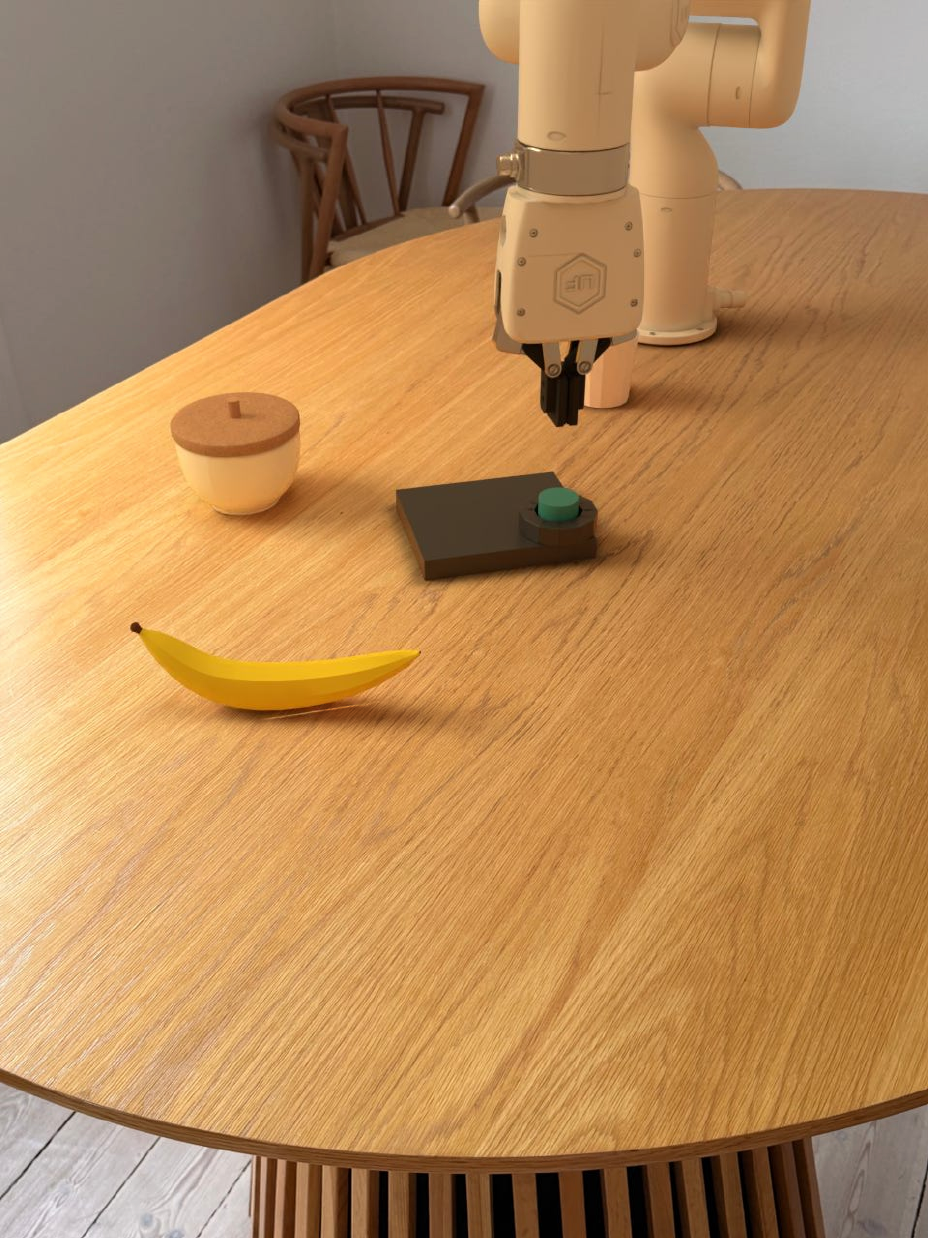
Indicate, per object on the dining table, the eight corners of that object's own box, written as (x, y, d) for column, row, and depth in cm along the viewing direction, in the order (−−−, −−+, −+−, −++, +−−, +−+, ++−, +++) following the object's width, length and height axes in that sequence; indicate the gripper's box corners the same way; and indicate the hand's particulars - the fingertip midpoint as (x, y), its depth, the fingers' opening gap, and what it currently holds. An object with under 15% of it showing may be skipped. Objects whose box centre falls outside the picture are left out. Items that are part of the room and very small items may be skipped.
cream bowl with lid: (326, 480, 109) (318, 382, 103) (273, 538, 100) (261, 434, 95) (220, 463, 112) (207, 367, 106) (159, 518, 103) (142, 416, 98)
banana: (420, 725, 80) (418, 646, 77) (138, 714, 81) (123, 636, 78) (425, 698, 83) (422, 620, 79) (151, 687, 84) (136, 611, 80)
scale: (558, 489, 107) (560, 453, 105) (604, 561, 97) (607, 523, 95) (396, 508, 104) (394, 472, 102) (426, 585, 94) (425, 546, 92)
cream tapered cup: (633, 384, 126) (638, 319, 122) (635, 412, 120) (640, 344, 116) (567, 382, 127) (570, 317, 123) (565, 409, 121) (568, 342, 117)
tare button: (571, 502, 99) (572, 485, 98) (583, 520, 96) (584, 503, 95) (533, 506, 98) (534, 489, 97) (544, 525, 96) (545, 508, 95)
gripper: (478, 188, 78) (477, 450, 88) (697, 174, 80) (672, 429, 91) (452, 161, 84) (454, 409, 94) (656, 149, 86) (637, 391, 97)
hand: (561, 418), depth 92 cm, fingers closed
